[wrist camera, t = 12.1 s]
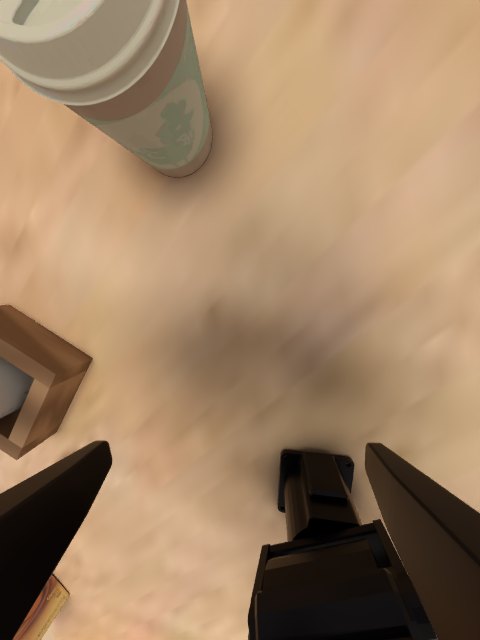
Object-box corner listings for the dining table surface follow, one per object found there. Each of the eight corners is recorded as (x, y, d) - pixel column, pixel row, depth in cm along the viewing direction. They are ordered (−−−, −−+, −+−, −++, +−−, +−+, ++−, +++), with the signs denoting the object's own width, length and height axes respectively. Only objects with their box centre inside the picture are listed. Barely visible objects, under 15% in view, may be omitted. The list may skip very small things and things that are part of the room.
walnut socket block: (56, 431, 25) (16, 460, 21) (-20, 382, 25) (-74, 400, 21) (92, 358, 23) (55, 374, 19) (9, 304, 23) (-45, 309, 19)
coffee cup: (133, 198, 20) (-66, 77, 8) (123, 84, 18) (-135, -266, 7) (231, 192, 19) (167, 41, 7) (228, 70, 17) (143, -376, 6)
